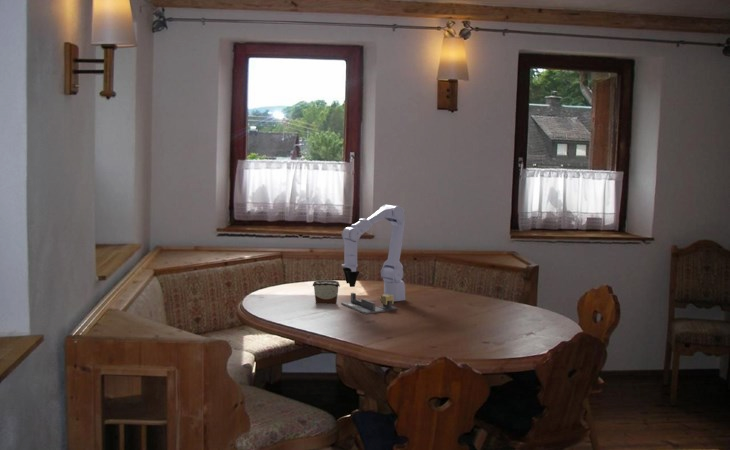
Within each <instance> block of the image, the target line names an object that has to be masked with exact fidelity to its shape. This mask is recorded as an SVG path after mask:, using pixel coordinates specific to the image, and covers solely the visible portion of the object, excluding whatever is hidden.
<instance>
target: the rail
mask: <svg viewBox="0 0 730 450" xmlns="http://www.w3.org/2000/svg"><path fill="white" fill-rule="evenodd" d="M356 296H357V295H356V293H355V292H350V301H344V302H341V303H340V305H342V306H345V307H347V308H349V309H352V310H353V311H357V312H358V313H362V314H364V315H370V314H378V313H385V312H386V311H385V310H384V309H382V308H379V307H377V306H378V305H377V306H376V302H373V301H372V300H371V301H370V300H368V299H365V298H361V300H360V299H357V297H356Z"/></svg>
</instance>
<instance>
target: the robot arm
mask: <svg viewBox="0 0 730 450" xmlns="http://www.w3.org/2000/svg"><path fill="white" fill-rule="evenodd" d="M405 215H406V210H405V209H404V208H403V207H402V206H400V205H392V204H386V203H385V204H383V205H381V206H380V207H379V209H378V210H376V211H375V212H374V213H372V214H371V215H369V217H367V218H359V219H358V221H357V222H355V223H352V224H351V225H350V226H347V227H345V228H343V230H342V233H341V238H342V239H343V244H344V247H343V249H344V250H343V252H344V255H343V256H344V263H342V264H341V267H342V271H343V273H344V277H345V281H346V282H345V283H346V284H348V285H349V287H350V288H354V287H356V283H357V278H358V276H359V274H360V271H358V270H357V268H358V267H359V265H358V241H359V240H360V238H361V236H362V235H364V234H365V233H366V232H368V231H369V230H370V229H371V227H372V225H374V224H376V223H377V222H380V221H381V220H383V219H385V220H387V221H388V222H389V223H390V225H391V227H392V229H391V232H390V233H391V235H390V241H389V247H388V255H387V259H386V260H385V261H384V262H383V265H382V268H381V270H380V276H381V278H382V280H383V295H386V294H390V295H392V296H394V302H402V301H406V300H407V299H406V283H405V282H404V281H403V280H402V279H403V278H404V270H403V268H404V266H403V264H402V262H401V261H400V259H401V254H402V247H403V238H404V232H405V224H406V221H405ZM379 300H381V297H379Z"/></svg>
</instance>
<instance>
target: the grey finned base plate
mask: <svg viewBox="0 0 730 450" xmlns="http://www.w3.org/2000/svg"><path fill="white" fill-rule="evenodd" d="M377 307H379V308H382V309H384V310H385V312H391V311H397V310H398V308H397V307H396V306H393V305H392V304H391V301H387V305H385V304H383V303H382V305H377Z"/></svg>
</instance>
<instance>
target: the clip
mask: <svg viewBox="0 0 730 450" xmlns="http://www.w3.org/2000/svg"><path fill="white" fill-rule="evenodd" d="M380 298H381V299H380V304H382V305H383V304H385V305H387V301H391V305H394V302H395V301H394V296H392V295H390V294H386V295H384V294H381V295H380Z"/></svg>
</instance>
